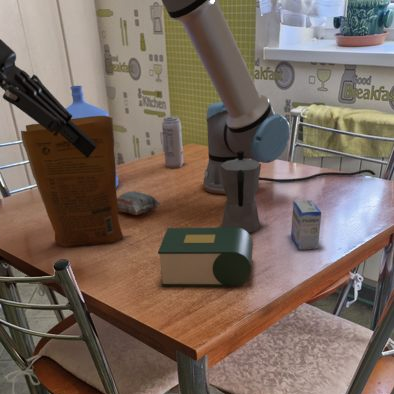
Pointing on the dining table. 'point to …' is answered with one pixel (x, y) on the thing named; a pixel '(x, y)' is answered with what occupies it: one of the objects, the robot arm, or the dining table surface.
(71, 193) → the pancake mix bag
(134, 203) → the packaged food
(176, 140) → the energy drink can
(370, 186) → the dining table surface
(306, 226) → the medicine box
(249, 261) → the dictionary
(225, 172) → the coffeepot
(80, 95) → the water jug
